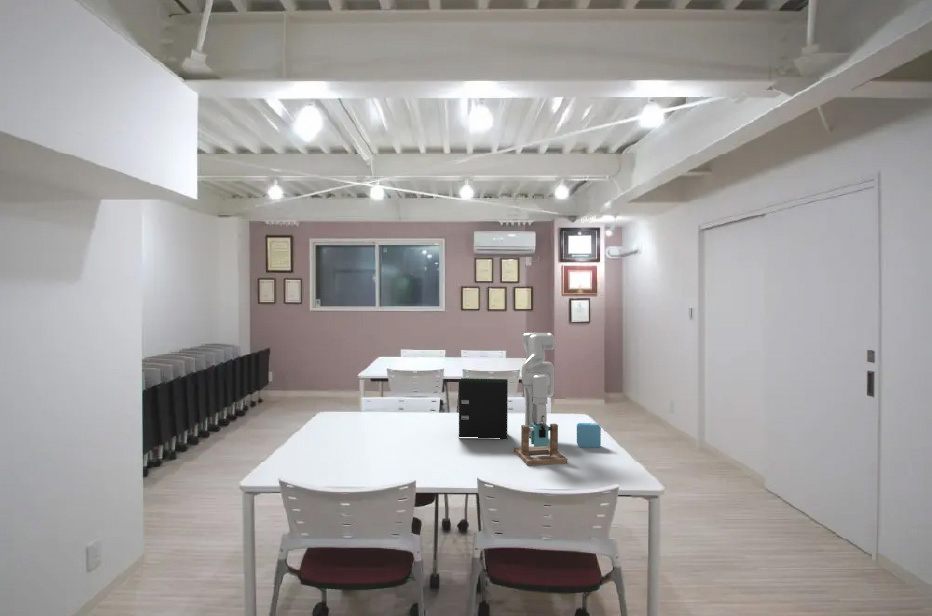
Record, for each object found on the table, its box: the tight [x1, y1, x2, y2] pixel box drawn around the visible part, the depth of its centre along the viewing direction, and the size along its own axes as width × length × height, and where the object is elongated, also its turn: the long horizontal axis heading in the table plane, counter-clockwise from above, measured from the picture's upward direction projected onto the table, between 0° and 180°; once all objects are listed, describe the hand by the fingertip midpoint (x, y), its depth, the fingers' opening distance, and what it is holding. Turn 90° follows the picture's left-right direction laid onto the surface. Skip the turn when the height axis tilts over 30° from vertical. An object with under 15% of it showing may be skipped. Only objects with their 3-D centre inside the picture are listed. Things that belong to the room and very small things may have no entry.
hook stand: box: [513, 423, 568, 466], centre depth 267 cm, size 24×20×16 cm
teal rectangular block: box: [530, 423, 549, 447], centre depth 267 cm, size 6×7×10 cm
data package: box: [576, 422, 602, 448], centre depth 287 cm, size 12×4×12 cm, turn 87°
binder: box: [458, 377, 509, 440], centre depth 307 cm, size 27×15×32 cm, turn 85°
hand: (539, 435), depth 267 cm, fingers open, 8 cm apart
